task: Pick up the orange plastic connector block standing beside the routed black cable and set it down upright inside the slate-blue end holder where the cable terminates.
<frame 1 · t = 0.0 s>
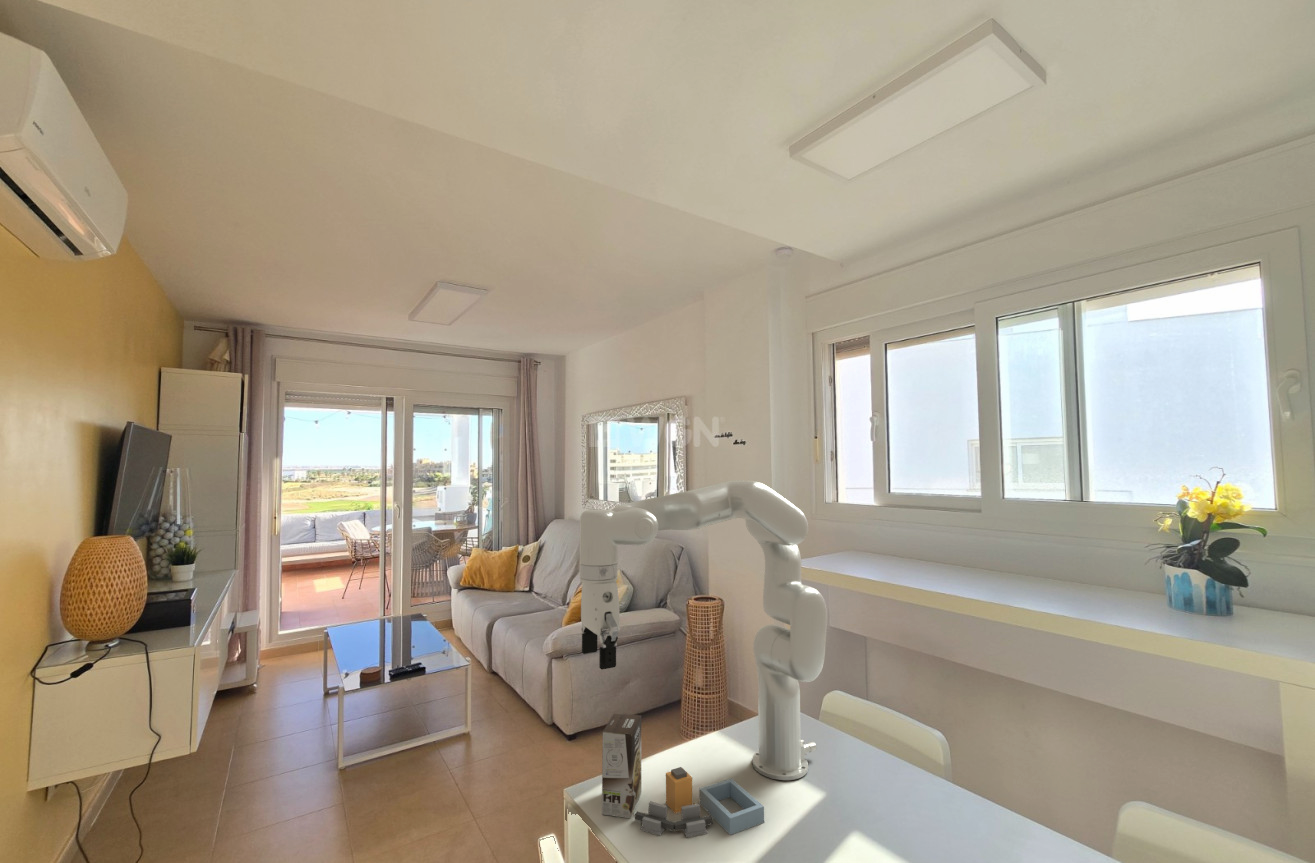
hand: (598, 659, 109), 31 cm above the table, fingers open, 9 cm apart
clip a: (654, 826, 107), on the table
end holder: (731, 812, 111), on the table
connector: (679, 805, 114), on the table
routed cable: (779, 766, 128), on the table
coffee box: (622, 804, 114), on the table
clip b: (693, 828, 106), on the table
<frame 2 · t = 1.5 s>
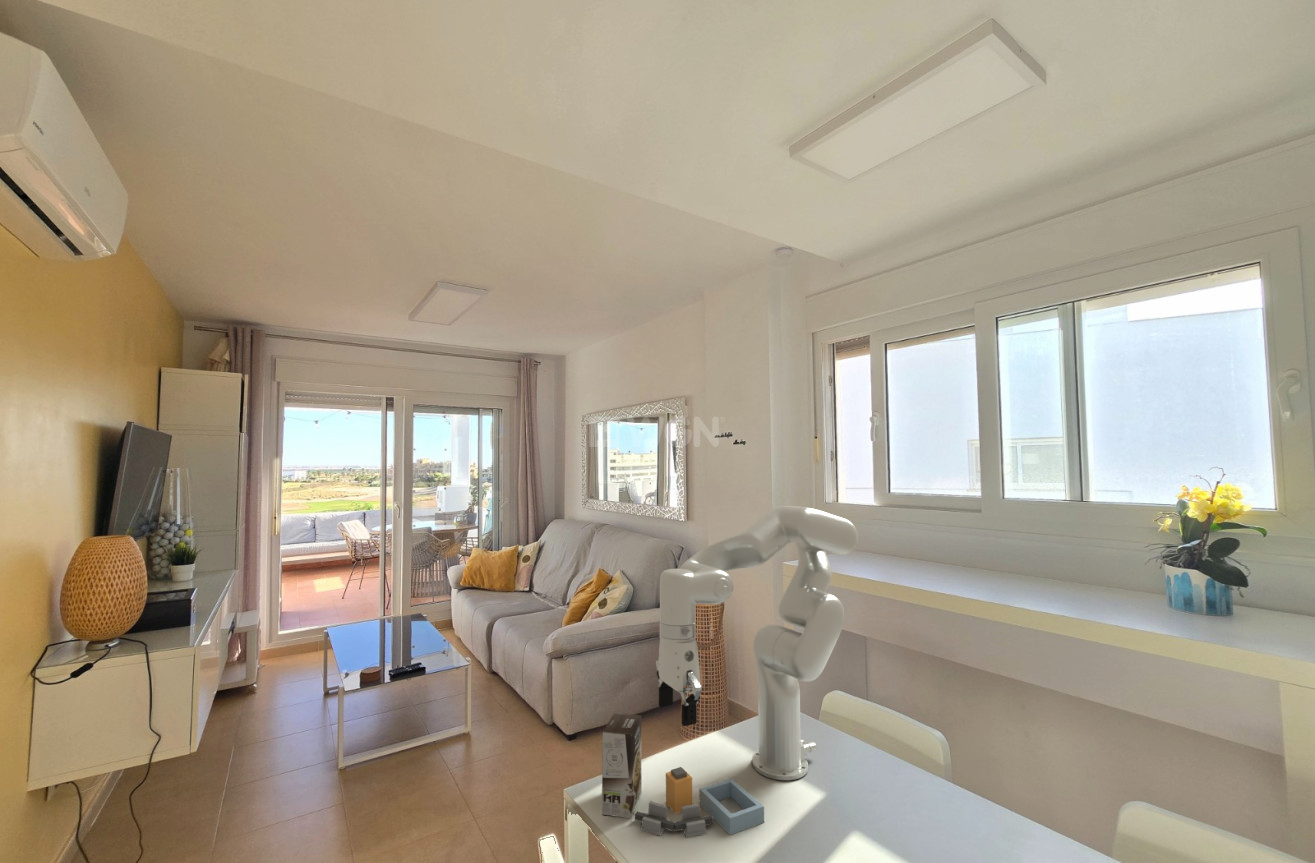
hand: (677, 714, 115), 18 cm above the table, fingers open, 9 cm apart
nothing on the table moved.
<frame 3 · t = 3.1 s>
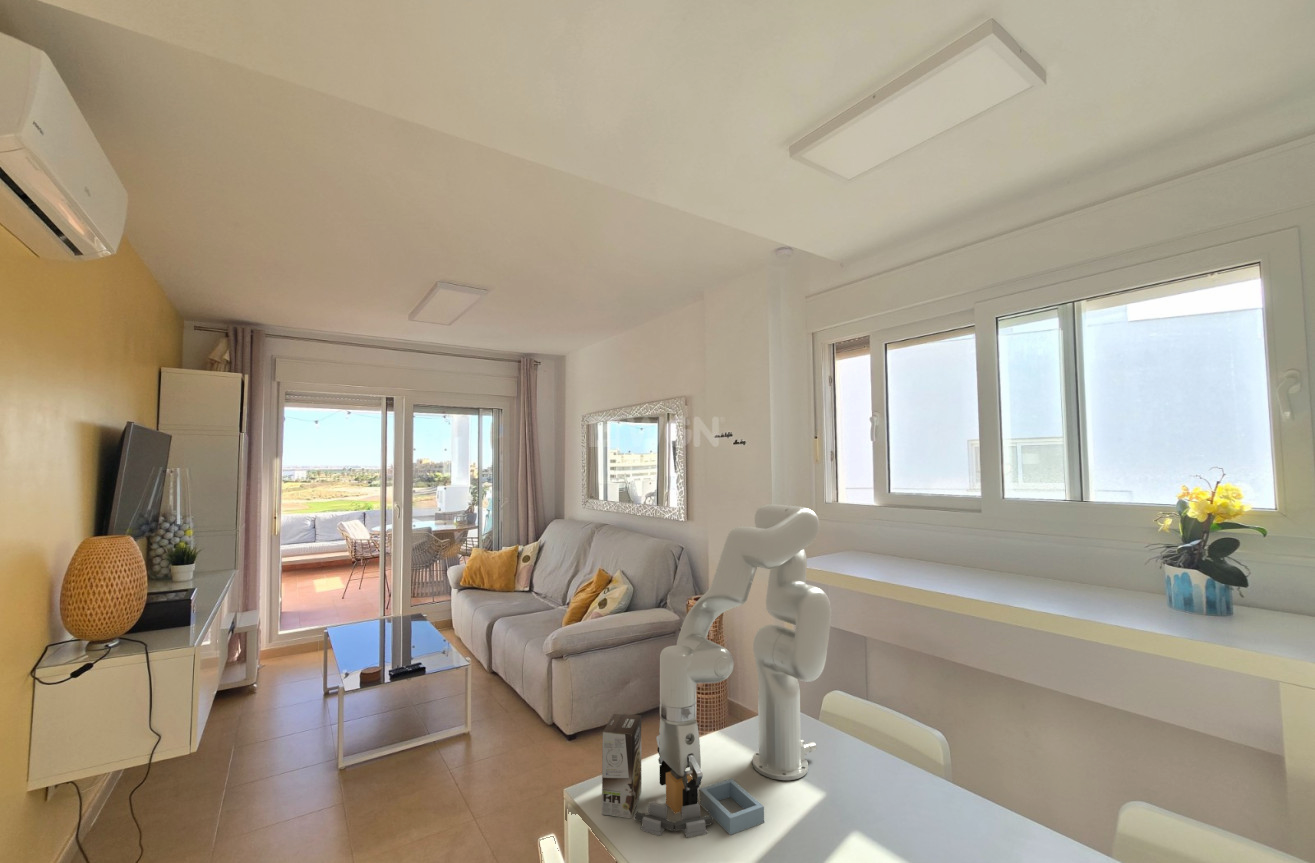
hand: (678, 795, 114), 2 cm above the table, fingers open, 9 cm apart
nothing on the table moved.
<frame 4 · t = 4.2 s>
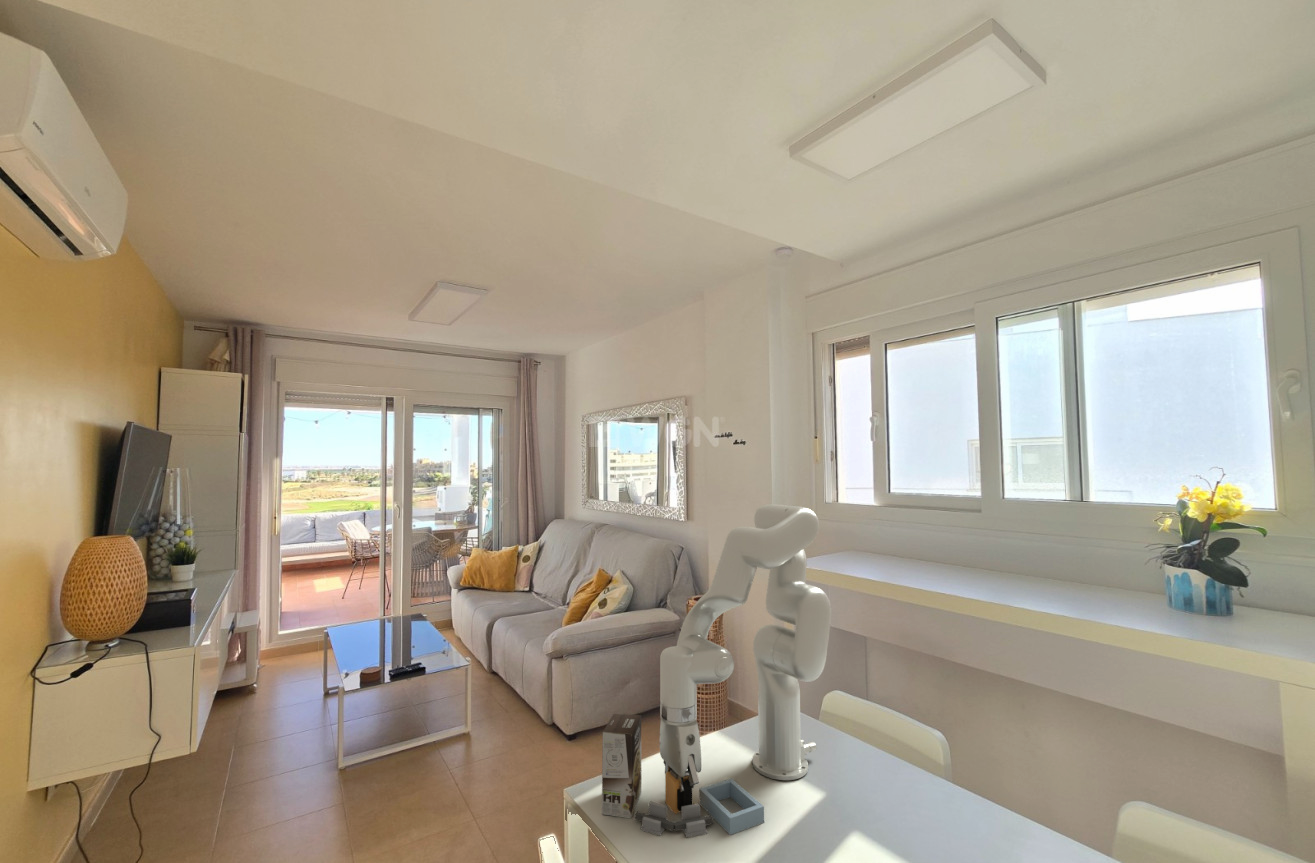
hand: (678, 801, 114), 1 cm above the table, fingers closed on connector, 4 cm apart
connector: (678, 805, 114), on the table, touching gripper
everything else where it was.
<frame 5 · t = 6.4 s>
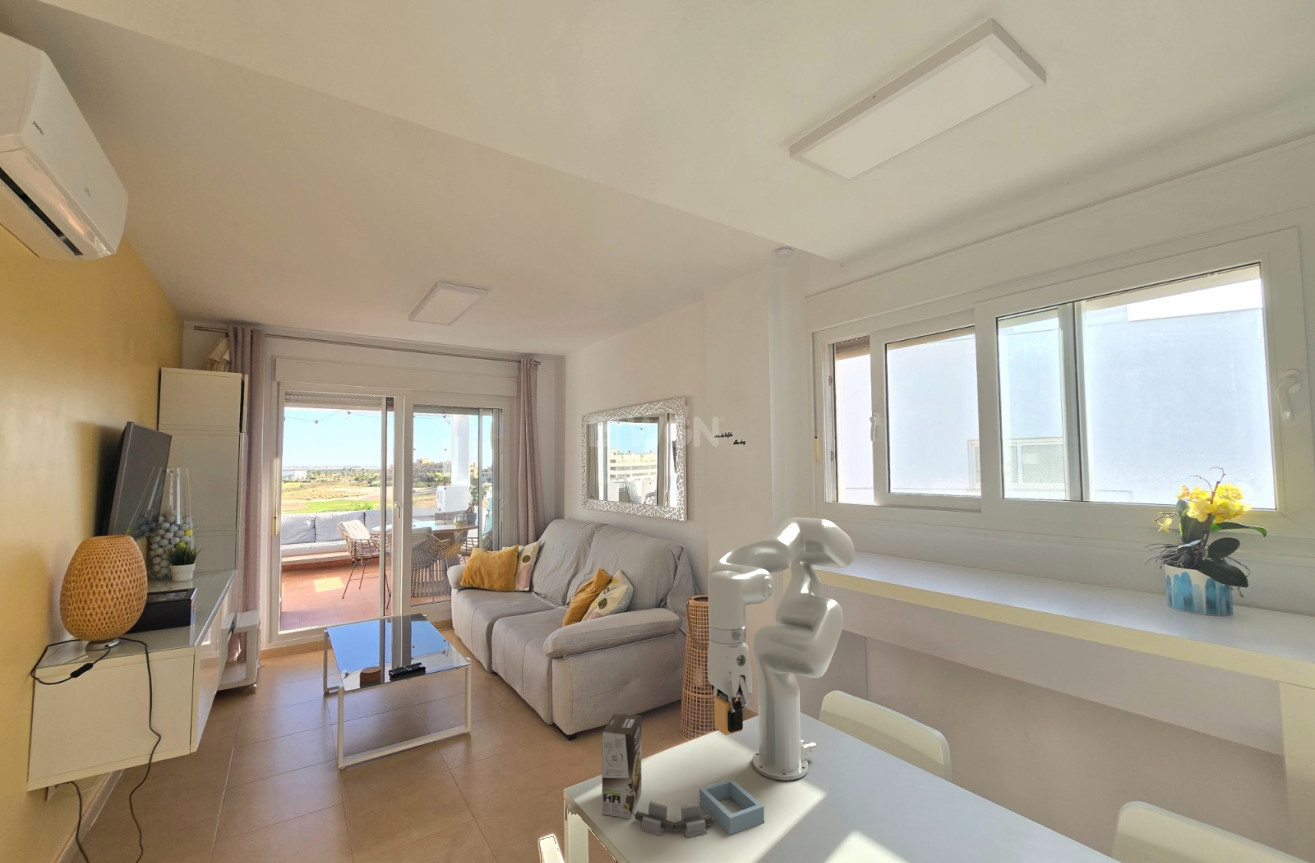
hand: (728, 724, 112), 17 cm above the table, fingers closed on connector, 4 cm apart
connector: (728, 728, 112), point 16 cm above the table, touching gripper
everything else where it was.
when the fingers open (3 cm above the table, at t = 8.8 s): connector drops 2 cm, resting in end holder.
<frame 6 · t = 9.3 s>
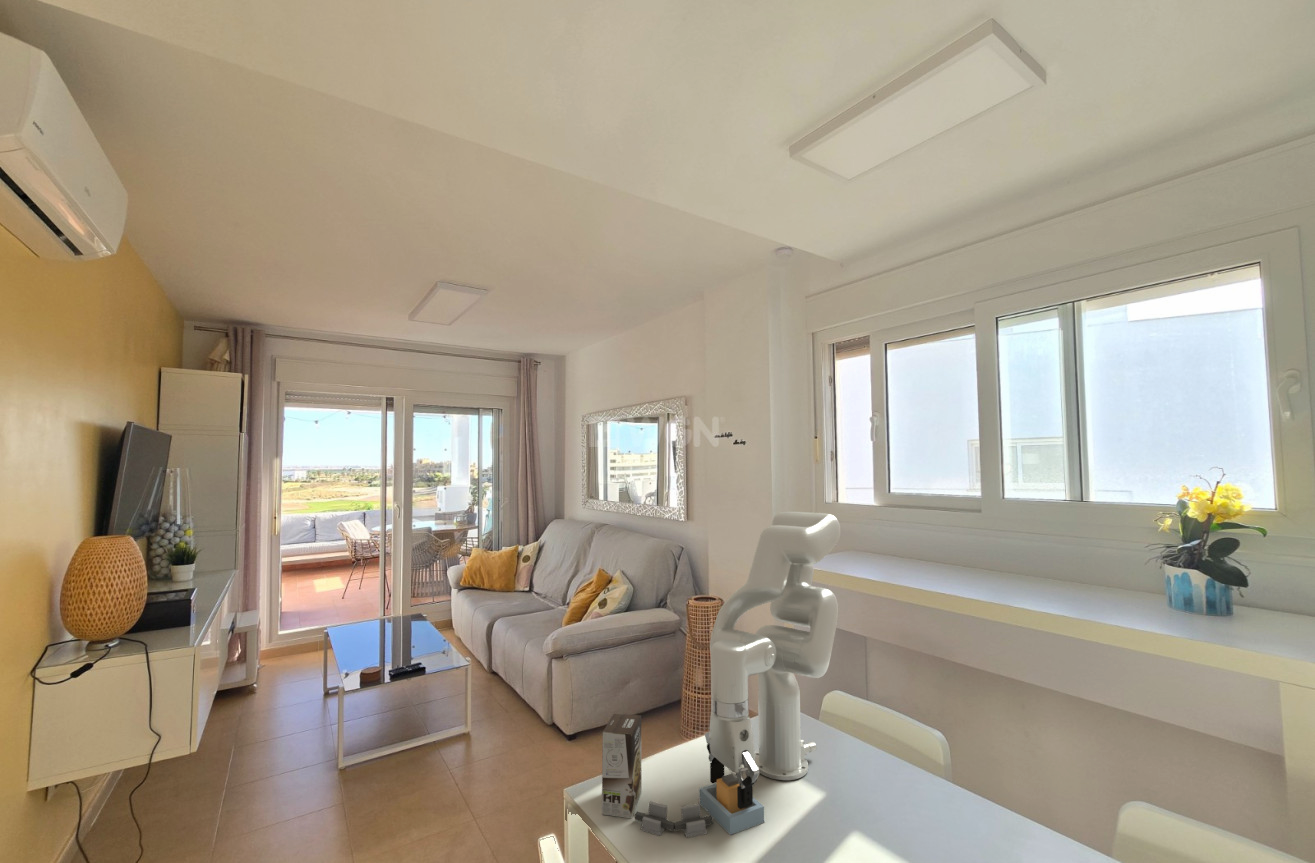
hand: (730, 793, 111), 4 cm above the table, fingers open, 9 cm apart
connector: (730, 813, 111), resting in end holder
everything else where it was.
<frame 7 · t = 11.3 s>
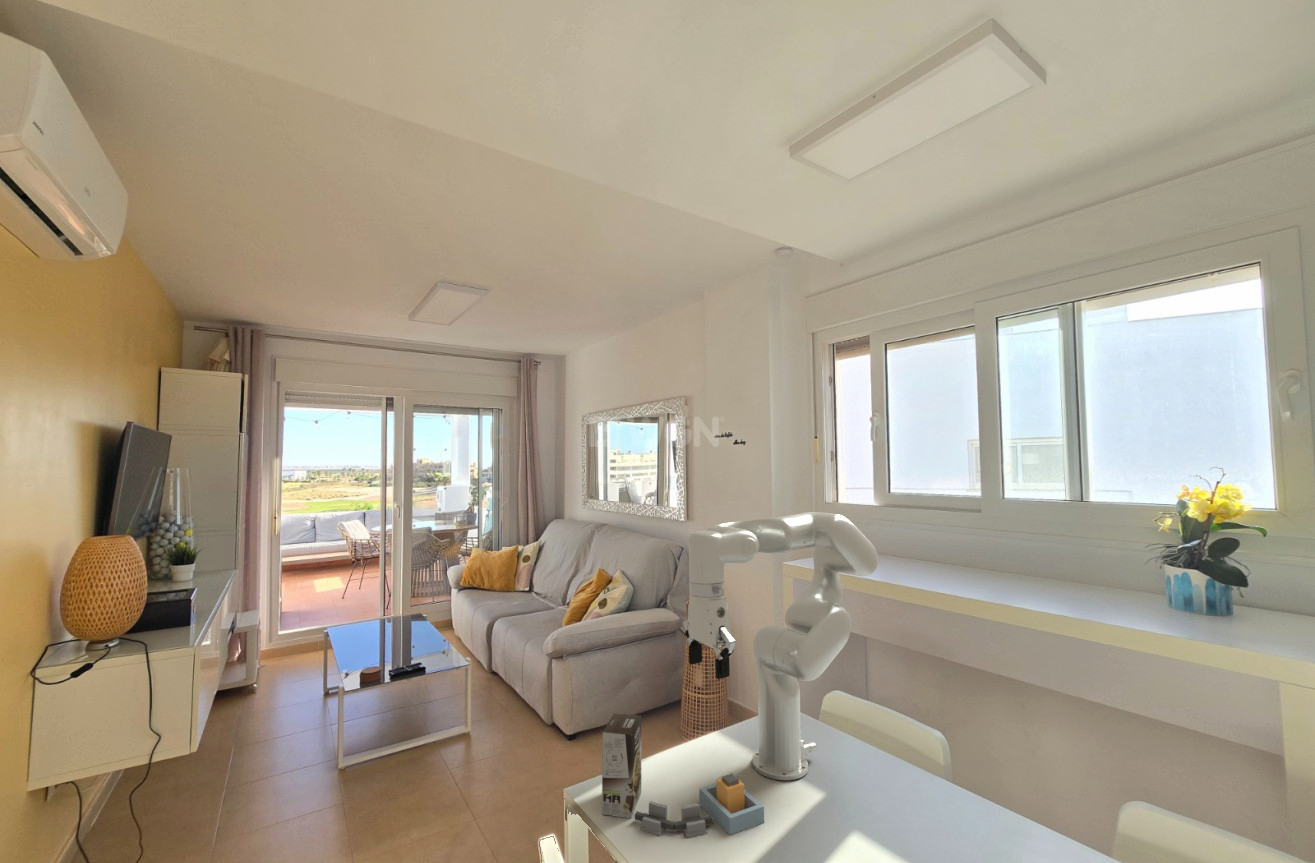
hand: (708, 670, 119), 26 cm above the table, fingers open, 9 cm apart
nothing on the table moved.
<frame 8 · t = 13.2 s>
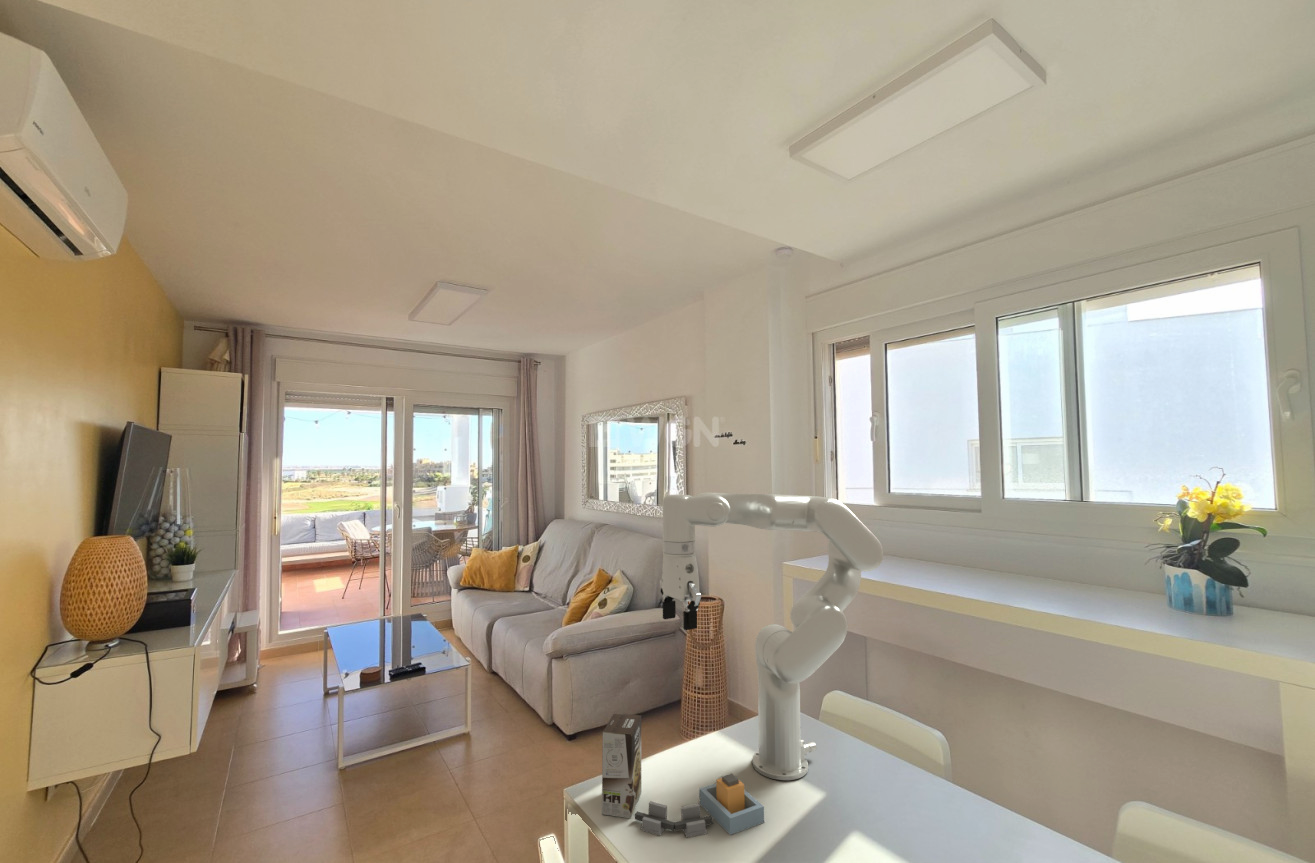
hand: (679, 623, 127), 33 cm above the table, fingers open, 9 cm apart
nothing on the table moved.
at the end: connector 0.1 cm off-centre on the end holder, point 0.0 cm above the end holder's base; connector tilted 0°; the gripper is holding nothing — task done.
